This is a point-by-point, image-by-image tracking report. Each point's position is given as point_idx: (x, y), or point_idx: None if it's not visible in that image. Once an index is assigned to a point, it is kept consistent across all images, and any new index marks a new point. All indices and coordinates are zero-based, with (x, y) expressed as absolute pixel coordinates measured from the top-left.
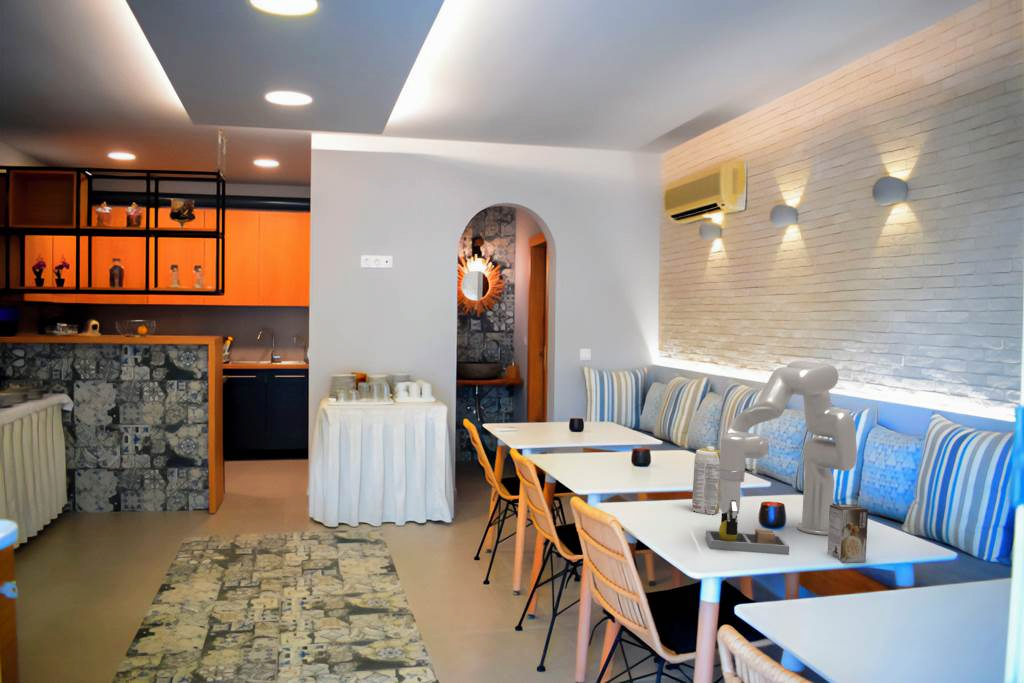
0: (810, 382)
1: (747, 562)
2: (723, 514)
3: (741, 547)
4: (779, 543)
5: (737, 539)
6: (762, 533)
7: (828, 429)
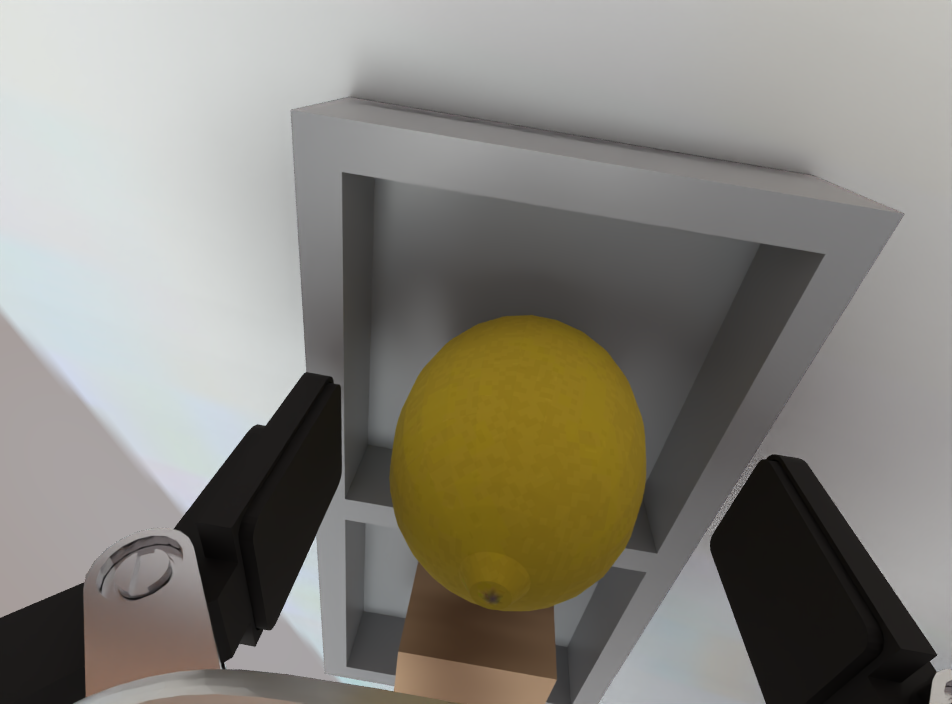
0: None
1: (139, 354)
2: (857, 646)
3: None
4: None
5: (656, 481)
6: (396, 668)
7: None
